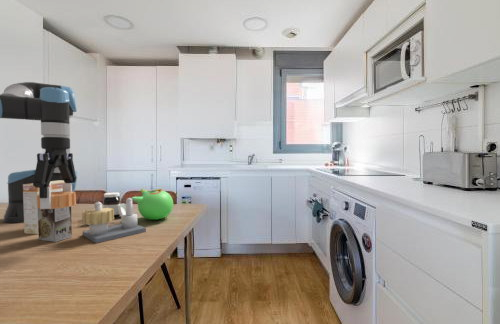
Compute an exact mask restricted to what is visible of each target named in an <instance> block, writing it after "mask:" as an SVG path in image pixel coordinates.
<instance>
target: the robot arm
mask: <svg viewBox="0 0 500 324" xmlns="http://www.w3.org/2000/svg"><path fill="white" fill-rule="evenodd" d="M75 97H76V96H75V93H74V90H73V88H72V87H70V86H65V85H57V84H50V83H49V84H48V83H40V82H34V81H32V82H31V81H28V82H27V81H26V82H25V81H24V82H17V83H13V84H10V85H8V86H6V87H5V88H4V90H3V92H2V93H1V94H0V119H8V120H9V119H11V120H27V121H28V120H30V121H40V135H41V136H42V137H40V148H41V149H43V150H45V151H44V153H41V152H40V153H37V154H36V160H37V161H36V167H35V169H29V170H21V171H16V172H15V171H14V172H10V173H9V175H8V177H7V183H6V184H7V193H8V194H7V195H8V196H7V197H8V198H7V199H8V204H7V207H6V210H5V213H4V215H3V222H4V223H11V224H13V223H14V224H15V223H24V204H23V184H31V183H33V186H35V187H36V188H39V193H40V194H39V197H40V209H50V208H51V187H48V186H49V184H50V181H57V180H63V181H64V182H65V183H62V185H63V191H64V192H68V191H72V192H76V189H77V188H76V186H77V180H78V179H77V178H78V171H77V170H75V164H74V159H73V158H74V157H73V153H71V127H70V123H71V122H70V119H71V118H72V117H73V116H74V113H76V112H77V110H78V109H77V103H76V98H75Z"/></svg>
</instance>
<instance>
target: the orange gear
mask: <svg viewBox="0 0 500 324" xmlns="http://www.w3.org/2000/svg"><path fill="white" fill-rule="evenodd" d="M76 196H77V195H76V191H74V192H72V191H68V192H64V191H60V192H51V208H50V209H54V208H64V207H70V206H71V207H73V206H76V204H77V202H76V201H77V198H76ZM37 208H40V197H39V194H38V195H37Z"/></svg>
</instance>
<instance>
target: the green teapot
mask: <svg viewBox="0 0 500 324" xmlns="http://www.w3.org/2000/svg"><path fill="white" fill-rule="evenodd" d="M140 192H141V196H132V197H130V198H131V199H132V202H135V203H137V210H138V213H139V214H140V215H141V217H143V218H144V219H146V220H150V221H157V220H158V221H159V220H162V219H164V218H165V217H168V215H170V214H171V213H172V211H173V209H174V200H173V197H172V196H171V194H170V193H168V192H167V191H165V190H163V188H158V189H153V190H150V191H148V190H146V189H144V188H142V189H140Z"/></svg>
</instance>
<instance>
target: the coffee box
mask: <svg viewBox="0 0 500 324" xmlns="http://www.w3.org/2000/svg"><path fill="white" fill-rule="evenodd" d="M72 223H73V222H72V206H70V207H64V208H54V209H40V208H38V233H39V234H38V241H46V242H47V241H48V242H52V243H56V242H57V243H58V242H60V241H64V240H66V239H70V238H72V237H73V231H72V230H73V229H72V228H73V227H72V226H73V225H72Z"/></svg>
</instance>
